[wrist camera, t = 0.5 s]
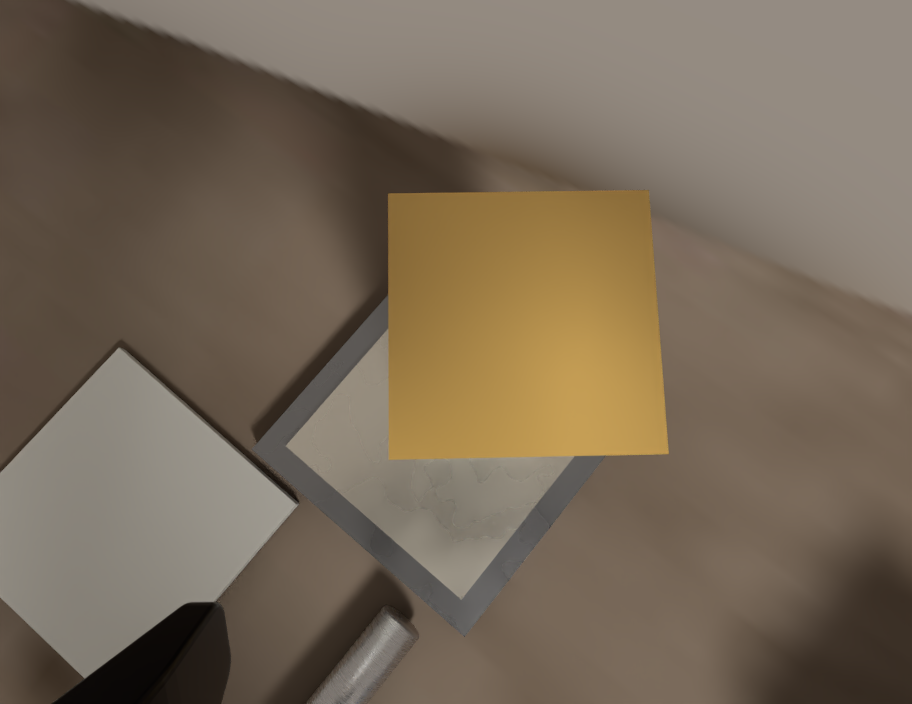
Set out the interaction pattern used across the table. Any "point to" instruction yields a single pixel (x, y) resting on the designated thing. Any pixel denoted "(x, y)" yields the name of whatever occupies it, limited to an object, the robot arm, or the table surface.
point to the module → (523, 325)
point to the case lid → (126, 515)
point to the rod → (368, 660)
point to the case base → (415, 485)
